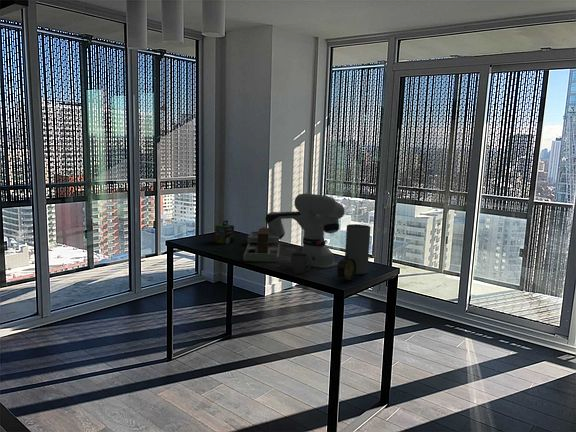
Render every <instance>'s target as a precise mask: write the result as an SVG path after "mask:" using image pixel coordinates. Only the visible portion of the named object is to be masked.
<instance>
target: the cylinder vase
mask: <svg viewBox="0 0 576 432" xmlns="http://www.w3.org/2000/svg"><path fill="white" fill-rule="evenodd" d="M345 232H346V233H345V234H346V235H345V248H344V249H345V251H344V252H346V255H348V251H349V255H348V258H350V259H353V260H354V261H355V263H356V272H355V274H357V275H359V274H362V275H365V274H368V270H369V269H368V267H369V255H370V254H369V253H370V239H371V238H370V237H371V226H370V225H367V224H357V223H354V224H347V225H346V231H345ZM346 250H348V251H346ZM344 258H346V256H345V255H344Z"/></svg>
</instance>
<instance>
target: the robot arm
mask: <svg viewBox="0 0 576 432" xmlns="http://www.w3.org/2000/svg"><path fill="white" fill-rule="evenodd" d="M294 207H295V209H296V210H297V211H271V212H269V213H267V214H266V216H265V220H264V221H265V223H266V224H267V226H262V227H261V228H259V229H269V237H268V244H278V243H280V240H281V239H283V237H284V236H285V235H286V232H285V229H284V226H283V225H284V224H283V222H282V220H284V219H288V220H289V219H292V220H294V221H296V222H297V223H298V225H299V226H300V228H301V229H302V230H303V237H302V243H303V246H302V251H301V253H305V254H307V255H308V259H310V260H311V267H315V268H321V269H330V268H333V267H338V264H339V262H337V261H335V256H334V253H333V252H332V251H331V249H329V247H328V246H327V245H326V242H328V240H327V239H326V240H325V238H324V233H326V234H334V233H337V232H338V231H339V230H340V223H339V222H340V221H339V219H341V218H343V216H344V215H345V211H346V210H345V207H344V206H343V205H342V204H341V203H339V202H338V201H336V199H335V198H334V197H331V196H328V195H323V194H314V193H308V192H307V193H306V192H305V193H299V194H297V196H296V197H295V199H294ZM258 231H259V230H258ZM258 231H251V232H250V233H249V234H248V235H247V238H246V239H247V244H248V243H250V244H258ZM306 266H309V262H307V265H306Z"/></svg>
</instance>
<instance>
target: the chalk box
mask: <svg viewBox="0 0 576 432" xmlns="http://www.w3.org/2000/svg"><path fill="white" fill-rule="evenodd" d="M228 223H229V220H228V219H227V220H224V221H223V222H222V223H221V224H217V225H215V226H214V243H217V244H221V245H228V244H232V243H234V237H235V233H234V232H235V225H233V224H228Z"/></svg>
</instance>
